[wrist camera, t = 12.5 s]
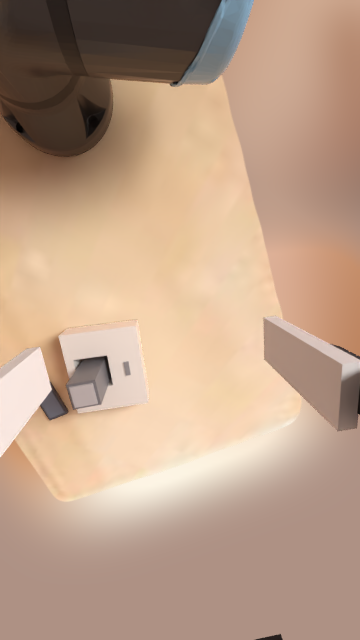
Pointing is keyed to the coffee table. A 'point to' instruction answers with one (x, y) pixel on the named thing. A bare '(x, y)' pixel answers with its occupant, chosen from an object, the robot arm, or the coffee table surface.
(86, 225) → the coffee table surface
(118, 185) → the coffee table surface
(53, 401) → the phone
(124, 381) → the outlet plate
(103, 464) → the coffee table surface
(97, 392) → the block
